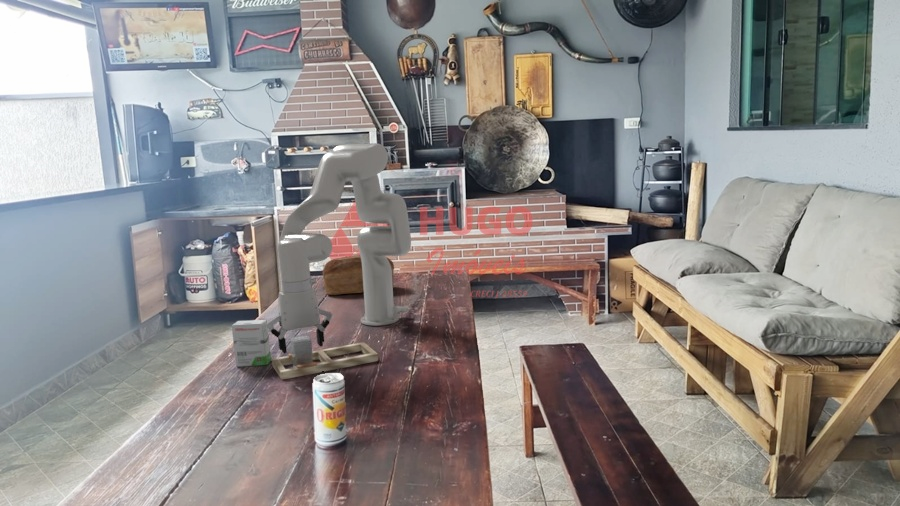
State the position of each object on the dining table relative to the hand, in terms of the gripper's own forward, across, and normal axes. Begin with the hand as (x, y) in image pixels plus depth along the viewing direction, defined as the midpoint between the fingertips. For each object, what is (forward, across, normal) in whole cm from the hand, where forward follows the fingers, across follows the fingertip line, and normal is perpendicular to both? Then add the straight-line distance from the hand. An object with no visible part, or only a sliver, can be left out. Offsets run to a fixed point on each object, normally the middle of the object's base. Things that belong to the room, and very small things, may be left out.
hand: (302, 348), depth 171 cm
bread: (+7, -41, -76) cm, 86 cm away
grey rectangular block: (+5, 0, 0) cm, 5 cm away
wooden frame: (+5, -6, 0) cm, 8 cm away
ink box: (+5, +11, -11) cm, 16 cm away
